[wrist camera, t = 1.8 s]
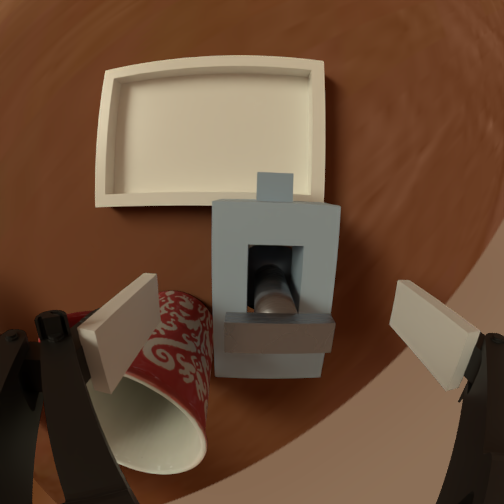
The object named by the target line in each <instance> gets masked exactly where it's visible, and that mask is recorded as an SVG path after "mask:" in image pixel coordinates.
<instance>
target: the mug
mask: <svg viewBox="0 0 504 504" xmlns="http://www.w3.org/2000/svg"><path fill="white" fill-rule="evenodd" d="M158 296H159V307H160V318H161V321H160V323H159V324H158V326H157V327H156V329H155V330H154V331H153V333H152V334H151V336H150V337H149V339H148V340H147V342H146V343H145V344H144V346H143V347H142V349H141V350H140V352H139V353H138V355H137V356H136V358H135V359H134V361H133V362H132V364H131V365H130V367H129V368H128V370H127V371H126V373H125V374H124V376H123V377H122V379H121V380H120V382H119V383H118V385H117V386H116V388H115V389H114V391H113V392H112V394H108V393H104V392H100V391H96V390H94V387H93V384H92V381H91V378H90V380H89V381H88V382H87V384H86V386H87V389H88V392H89V395H90V398H91V401H92V403H93V406H94V409H95V412H96V414H97V417H98V420H99V422H100V425H101V427H102V430H103V432H104V435H105V437H106V439H107V442H108V444H109V446H110V448H111V451H112V453H113V455H114V457H115V459H116V461H117V463H118V464H121V465H123V466H126V467H128V468H131V469H134V470H138V471H142V472H146V473H152V474H176V473H181V472H185V471H188V470H190V469H192V468H194V467H196V466H197V465H198V464H200V462H201V461H202V460H203V458H204V457H205V455H206V452H207V445H208V443H207V437H206V433H205V427H206V417H207V407H208V396H209V385H210V376H211V367H212V360H213V348H214V341H213V317H212V315H211V314H210V312H209V310H208V309H207V308H206V306H205V305H204V304H203V303H202V302H201V301H199V300H198V299H196V298H195V297H193V296H192V295H189V294H187V293H184V292H179V291H164V292H160V293H158ZM90 312H91V311H85V312H76V313H71V314H67V318H68V322H69V327H70V328H72V327H73V326H74V325H75V324H76V323H78V322H80V320H81V319H82V318H84V317H85V316H86V315H87V314H89V313H90ZM39 342H40V339H39Z"/></svg>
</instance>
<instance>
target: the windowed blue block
mask: <svg viewBox="0 0 504 504" xmlns="http://www.w3.org/2000/svg"><path fill="white" fill-rule="evenodd" d="M293 177H294V174H293V173H273V172H257V194H256V199H218V200H215V201H212V307H213V341H214V365H215V377H229V378H264V379H281V378H315V377H320V376H321V371H322V365H323V360H324V354H325V353H306V354H251V353H225V352H224V320H225V315H226V312H245V313H247V295H248V254H249V244H250V245H285V246H292V263H291V278H290V293H291V295H292V298H293V301H294V304H295V307H296V310H297V313H330V314H331V307H332V300H333V291H334V283H335V274H336V264H337V253H338V241H339V228H340V213H341V206H338V205H333V204H328V203H323V202H307V201H293Z"/></svg>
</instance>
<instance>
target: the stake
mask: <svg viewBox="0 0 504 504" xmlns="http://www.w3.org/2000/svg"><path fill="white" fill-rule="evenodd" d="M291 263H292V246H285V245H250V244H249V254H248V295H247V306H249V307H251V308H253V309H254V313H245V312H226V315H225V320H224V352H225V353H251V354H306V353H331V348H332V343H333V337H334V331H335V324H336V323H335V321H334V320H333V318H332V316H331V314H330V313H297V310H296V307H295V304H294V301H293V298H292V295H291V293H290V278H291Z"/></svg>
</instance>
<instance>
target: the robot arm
mask: <svg viewBox="0 0 504 504" xmlns="http://www.w3.org/2000/svg"><path fill="white" fill-rule="evenodd" d="M34 321H35V324H36V328H37V332H38V335H39V339H40V342H28V339H27V335H26V333H25V331H23V330H19V329H15V330H13V329H11V330H10V331H9V330H8V331H6V332H5V333H3V334H2V335H1V336H0V504H32V488H33V486H32V485H33V470H34V458H35V449H36V441H37V434H38V427H39V421H40V416H41V410H42V405H43V400H44V407H45V415H46V421H47V427H48V433H49V438H50V443H51V448H52V452H53V457H54V461H55V465H56V469H57V472H58V476H59V479H60V483H61V486H62V489H63V492H64V496H65V500H66V501H65V503H62V504H139V502H138V500H137V499H136V497H135V495H134V493H133V492H132V490H131V488H130V486H129V484H128V483H127V481H126V479H125V477H124V475H123V473H122V471H121V469H120V467H119V465H118V463H117V461H116V459H115V457H114V455H113V453H112V451H111V448H110V446H109V444H108V442H107V439H106V437H105V435H104V432H103V430H102V427H101V425H100V422H99V420H98V417H97V414H96V412H95V409H94V406H93V403H92V401H91V398H90V395H89V392H88V389H87V386H86V384H87V382H88V381H89V380H90V378H91V381H92V384H93V387H94V390H96V391H100V392H104V393H108V394H112V392H113V391H114V389H115V388H116V386H117V385H118V383H119V382H120V380H121V379H122V377H123V376H124V374H125V373H126V371H127V370H128V368H129V367H130V365H131V364H132V362H133V361H134V359H135V358H136V356H137V355H138V353H139V352H140V350H141V349H142V347H143V346H144V344H145V343H146V342H147V340H148V339H149V337H150V336H151V334H152V333H153V331H154V330H155V329H156V327H157V326H158V324H159V323H160V321H161V318H160V307H159V296H158V283H157V274H149V273H143V274H142V275H141V276H140V277H138V278H137V279H136V280H135V281H133V282H132V283H131V284H130V285H128V286H127V287H126V288H125V289H123V290H122V291H121V292H120V293H118V294H117V295H116V296H115V297H113V298H112V299H111V300H110V301H108V302H107V303H106V304H105V305H104V306H102V307H101V308H98V309H96V310H94V311H91V312H90V313H89V314H87V315H86V316H85V317H84V318H82V319H81V320H80V322H78V323H76V324H75V325H74V326H73V327H72V328H70V327H69V322H68V318H67V314H66V313H65V312H64V311H61V310H50V311H46V312H43V313H41V314H39V315H38V316H36V318H35V320H34ZM389 325H390V326H391V327H392V328H393V329H394V331H395V332H396V333H397V334H398V335H399V336H400V337H401V339H402V340H403V341H404V342H405V343H406V344H407V345H408V347H409V348H410V349H411V350H412V351H413V352H414V354H415V355H416V356H417V357H418V358H419V359H420V361H421V362H422V363H423V364H424V365H425V367H426V368H427V369H428V370H429V371H430V372H431V374H432V375H433V376H434V377H435V378H436V380H437V381H438V382H439V384H440V385H441V386H442V387H443V389H444V390H445V391H449V390H452V389H456V388H458V387H459V385H460V383H461V381H462V379H463V376H465V377H466V378H467V380H468V382H467V384H466V386H465V388H464V390H463V392H462V394H461V397H460V399H459V401H458V402H460V401H461V400H462V399H463V403H462V409H461V415H460V421H459V426H458V431H457V435H456V440H455V444H454V448H453V452H452V456H451V460H450V463H449V467H448V470H447V473H446V477H445V480H444V483H443V486H442V489H441V491H440V494H439V497H438V500H437V502H436V504H504V336H502V335H500V334H497V333H488V334H486V335H484V334H482V333H481V332H480V330H479V329H477V328H476V327H475V326H473V325H472V324H471V323H469V322H468V321H467V320H465V319H464V318H463V317H461V316H460V315H458V314H457V313H456V312H454V311H453V310H452V309H450V308H449V307H447V306H446V305H445V304H443V303H442V302H440V301H439V300H438V299H436V298H435V297H433V296H432V295H430V294H429V293H427V292H426V291H425V290H423V289H422V288H420V287H419V286H417V285H416V284H414V283H413V282H411V281H410V280H398V282H397V288H396V294H395V299H394V304H393V309H392V314H391V319H390V323H389Z"/></svg>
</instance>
